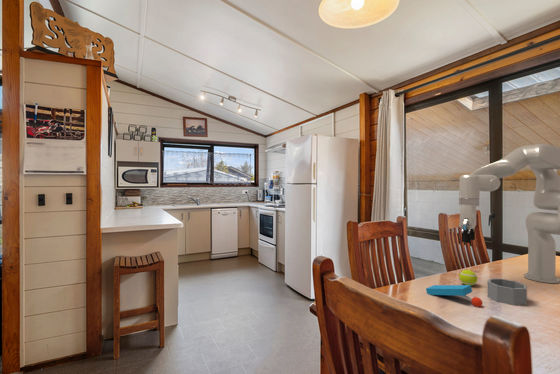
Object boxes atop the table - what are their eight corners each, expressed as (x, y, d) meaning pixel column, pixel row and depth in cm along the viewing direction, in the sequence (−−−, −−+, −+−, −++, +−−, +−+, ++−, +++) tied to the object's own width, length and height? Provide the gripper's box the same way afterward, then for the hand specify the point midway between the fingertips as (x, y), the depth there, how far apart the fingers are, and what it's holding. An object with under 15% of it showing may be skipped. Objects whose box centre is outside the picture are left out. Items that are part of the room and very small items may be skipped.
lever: (430, 306, 115) (479, 309, 101) (425, 288, 116) (473, 289, 102) (438, 302, 119) (487, 304, 105) (434, 285, 120) (481, 285, 106)
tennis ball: (471, 288, 122) (471, 273, 122) (455, 284, 127) (456, 269, 127) (480, 286, 125) (480, 271, 125) (464, 281, 131) (464, 267, 131)
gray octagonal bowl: (490, 291, 119) (490, 276, 119) (527, 298, 111) (527, 283, 111) (486, 299, 110) (486, 283, 110) (526, 307, 102) (526, 291, 102)
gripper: (463, 201, 135) (462, 237, 135) (454, 202, 122) (453, 242, 122) (482, 202, 130) (481, 239, 130) (475, 203, 117) (474, 244, 117)
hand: (468, 241), depth 126 cm, fingers open, 9 cm apart
